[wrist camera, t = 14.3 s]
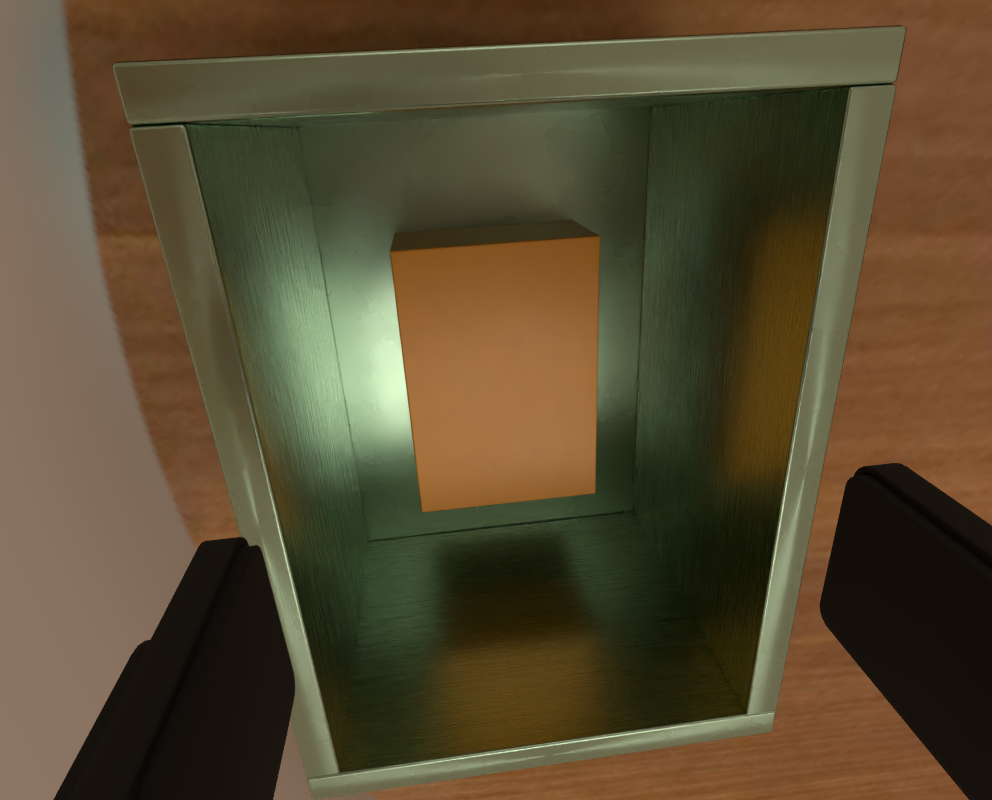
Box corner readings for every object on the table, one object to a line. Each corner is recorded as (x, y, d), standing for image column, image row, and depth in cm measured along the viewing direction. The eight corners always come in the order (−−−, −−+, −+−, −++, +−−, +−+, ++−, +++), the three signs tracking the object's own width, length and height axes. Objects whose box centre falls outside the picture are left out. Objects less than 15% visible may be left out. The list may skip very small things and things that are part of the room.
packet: (393, 232, 18) (389, 251, 16) (573, 220, 19) (600, 235, 16) (421, 464, 22) (421, 513, 19) (574, 449, 22) (596, 494, 19)
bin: (266, 96, 17) (108, 62, 8) (672, 75, 18) (910, 23, 9) (351, 552, 23) (311, 801, 15) (646, 518, 24) (772, 733, 16)
